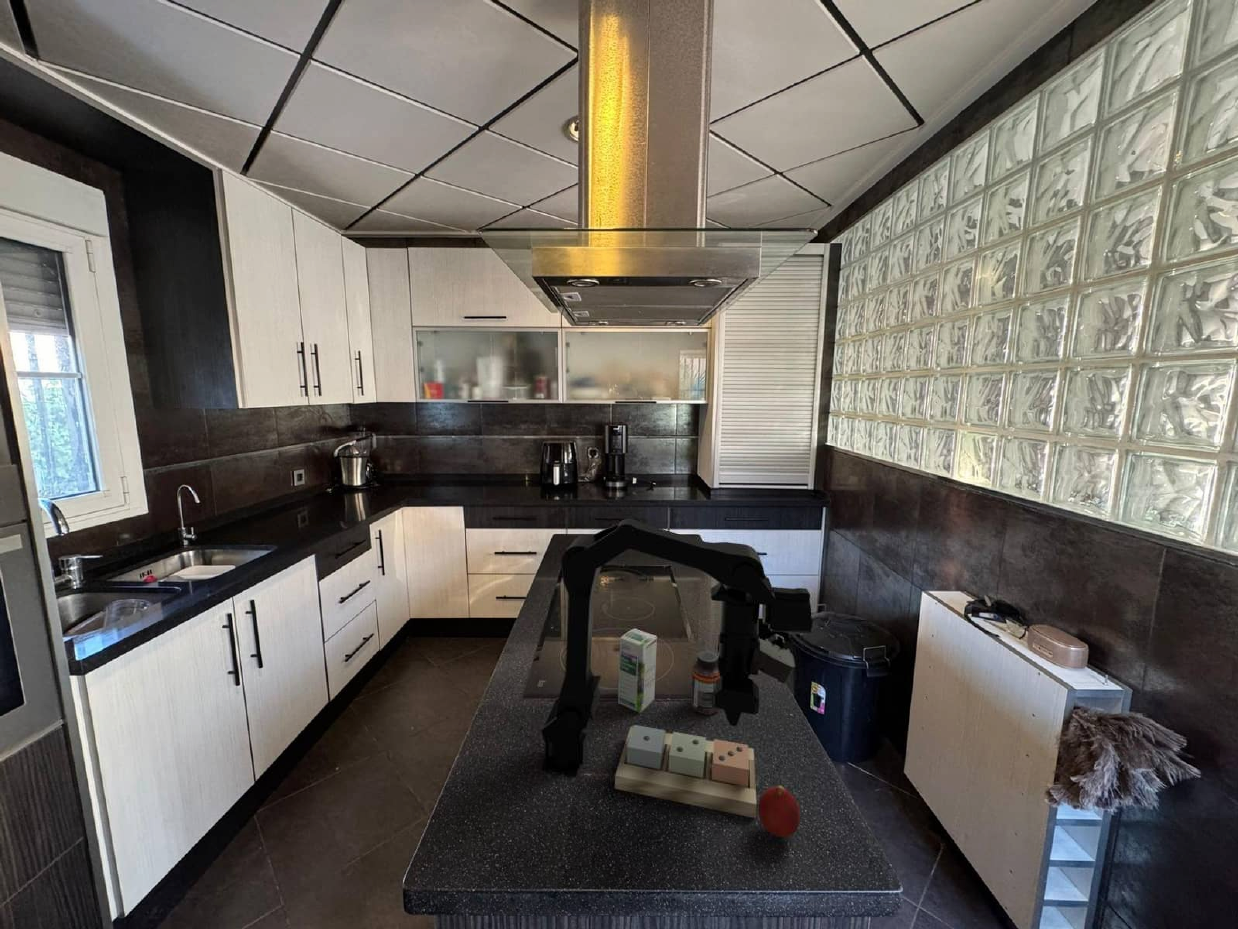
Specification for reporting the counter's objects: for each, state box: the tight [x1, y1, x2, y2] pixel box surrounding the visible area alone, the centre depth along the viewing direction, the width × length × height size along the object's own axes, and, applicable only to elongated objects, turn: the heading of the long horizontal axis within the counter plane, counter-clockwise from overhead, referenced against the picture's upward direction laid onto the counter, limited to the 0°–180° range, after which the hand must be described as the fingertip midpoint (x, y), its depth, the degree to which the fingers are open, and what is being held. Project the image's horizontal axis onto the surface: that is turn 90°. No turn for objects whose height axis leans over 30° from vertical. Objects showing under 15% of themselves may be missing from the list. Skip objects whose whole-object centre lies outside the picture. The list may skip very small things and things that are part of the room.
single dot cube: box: [627, 724, 666, 769], centre depth 84 cm, size 6×6×3 cm
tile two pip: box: [668, 731, 707, 778], centre depth 82 cm, size 6×6×3 cm
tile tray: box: [614, 726, 757, 819], centre depth 83 cm, size 22×12×2 cm, turn 77°
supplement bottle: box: [690, 650, 720, 716], centre depth 100 cm, size 6×6×11 cm
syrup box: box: [617, 628, 658, 714], centre depth 101 cm, size 6×6×14 cm
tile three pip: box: [712, 738, 749, 787], centre depth 81 cm, size 6×6×3 cm
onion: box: [757, 785, 801, 838], centre depth 72 cm, size 6×6×8 cm
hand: (733, 716), depth 80 cm, fingers open, 4 cm apart
